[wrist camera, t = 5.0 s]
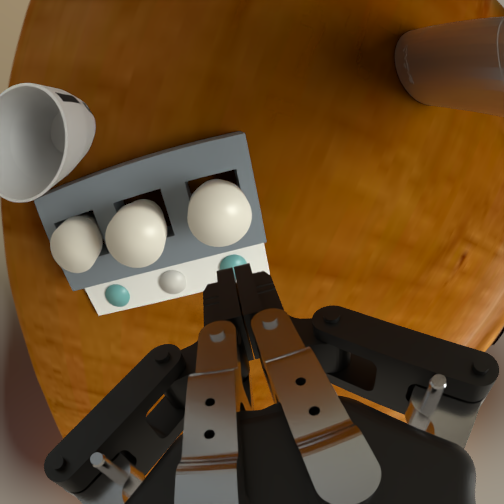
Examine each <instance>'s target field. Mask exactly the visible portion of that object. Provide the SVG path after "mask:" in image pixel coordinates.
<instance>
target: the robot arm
mask: <svg viewBox="0 0 504 504" xmlns="http://www.w3.org/2000/svg"><path fill="white" fill-rule="evenodd" d="M395 66H396V70H397V74H398V76H399V79H400V81H401V83H402V85H403V86H404V88H405V89H406V91H407V92H408V93H409V94H410V95H411V96H412V97H413V98H414V99H415V100H417V101H418V102H420V103H422V104H425V105H430V106H439V107H447V108H454V109H461V110H468V111H474V112H480V113H485V114H491V115H496V116H501V117H504V17H495V18H484V19H474V20H466V21H459V22H453V23H446V24H441V25H435V26H429V27H424V28H419V29H415V30H411V31H408V32H406V33H405V34H403V35H402V36H401V37H400V39H399V41H398V42H397V45H396V49H395ZM234 271H235V275H234ZM234 271H233V268H232V267H231V268H227V269H222V270H218V271H217V282H215V283H211V284H207V286H206V288H205V290H204V291H203V300H204V301H203V306H204V327H203V329H202V330H201V331H200V333H199V337H198V341H197V342H196V343H194V344H193V345H191V346H189V347H187V348H184V349H182V350H180V349H179V348H178V347H177V346H175V345H172V344H164V345H160V346H158V347H156V348H154V349H153V350H151V351H150V352H149V353H148V354H147V355H146V356H145V357H144V358H143V359H142V360H141V361H140V362H139V363H138V364H137V365H136V366H135V367H134V368H133V369H132V370H131V371H130V372H129V373H128V374H127V375H126V376H125V377H124V378H123V379H122V380H121V381H120V382H119V383H118V384H117V385H116V386H115V387H114V388H113V389H112V390H111V391H110V392H109V393H108V394H107V395H106V396H105V397H104V398H103V399H102V400H101V401H100V402H99V403H98V404H97V405H96V406H95V407H94V409H93V410H92V411H91V412H90V413H89V414H88V415H87V416H86V417H85V418H84V419H83V420H82V421H81V422H80V423H79V424H78V425H77V426H76V427H75V428H74V429H73V430H72V431H71V432H70V433H69V434H68V435H67V436H66V437H65V438H64V439H63V440H62V441H61V442H60V443H59V444H58V445H57V446H56V447H55V448H54V449H53V450H52V451H51V452H50V453H49V454H48V456H47V457H46V460H45V463H44V469H45V473H46V475H47V477H48V478H49V479H50V480H52V481H53V482H55V483H56V484H58V485H59V486H61V487H63V488H64V490H66V491H67V492H68V493H70V494H72V495H73V496H75V497H77V498H78V499H79V500H80V501H81V503H82V504H476V503H475V483H476V472H475V467H474V464H473V461H472V459H471V457H470V456H469V454H468V453H467V452H466V451H465V450H464V448H465V445H466V443H467V440H468V438H469V435H470V433H471V430H472V427H473V424H474V422H475V419H476V416H477V413H478V410H479V408H480V406H481V404H482V403H483V401H484V400H485V398H486V396H487V395H488V393H489V391H490V389H491V388H492V386H493V384H494V382H495V380H496V378H497V377H498V374H499V366H498V363H497V361H496V360H495V359H494V358H493V357H492V356H491V355H489V354H488V353H485V352H482V351H479V350H476V349H472V348H469V347H466V346H462V345H459V344H456V343H453V342H449V341H446V340H443V339H440V338H436V337H433V336H430V335H427V334H424V333H420V332H417V331H414V330H411V329H408V328H405V327H402V326H398V325H395V324H392V323H389V322H386V321H383V320H380V319H377V318H374V317H371V316H368V315H365V314H362V313H359V312H356V311H352V310H349V309H346V308H343V307H340V306H326V307H323V308H321V309H319V310H317V311H316V312H315V313H314V315H313V317H312V318H311V319H299V318H294V317H291V316H289V315H288V314H287V313H286V312H285V311H284V309H283V307H282V304H281V301H280V299H279V296H278V294H277V291H276V289H275V286H274V284H273V281H272V278H271V276H270V275H269V274H267V273H266V272H265V271H261V272H257V273H252V270H251V267H250V263H247V264H243V265H239V266H235V267H234ZM235 277H236V279H235ZM249 338H250V339H249ZM250 342H251V344H250ZM251 345H252V349H253V352H254V356H255V359H258V358H260V361H261V364H262V368H263V372H264V375H265V378H266V381H267V384H268V386H269V389H270V392H271V395H272V398H273V400H274V403H275V404H273V405H271V406H269V407H267V408H265V409H263V410H255V411H254V405H253V394H252V384H251V375H250V367H249V361H250V360H254V358H253V353H252V349H251ZM331 383H332V384H334V385H336V386H338V387H341V388H343V389H345V390H347V391H350V392H352V393H354V394H356V395H359V396H361V397H363V398H366V399H368V400H370V401H373V402H375V403H377V404H380V405H382V406H385V407H387V408H390V409H392V410H394V411H397V412H399V413H402V414H405V418H406V421H407V423H408V424H407V423H405V422H402V421H400V420H398V419H396V418H393V417H391V416H389V415H387V414H385V413H382V412H380V411H378V410H376V409H374V408H372V407H369V406H367V405H365V404H363V403H361V402H359V401H357V400H354V399H351V398H348V397H343V396H337V394H336V392H335V390H334V388H333V386H332V385H331ZM163 394H164V395H165V397H164V398H163V399H162V400H161V401H160V402H159V403H158V404H157V406H156V407H155V408H154V409H153V410H152V411H151V412H150V413H149V415H148V416H147V417H146V414H147V412H148V411H149V409H150V408H151V407H152V406H153V405H154V404H155V403H156V402H157V401H158V399H159V398H160V397H161V396H162V395H163ZM182 431H183V434H182V435H180V433H181V432H182ZM179 435H180V436H179ZM178 436H179V437H178ZM177 437H178V438H177ZM176 438H177V439H176ZM171 444H172V445H171ZM168 448H169V449H168ZM167 449H168V450H167ZM166 450H167V451H166ZM164 453H165V454H164ZM163 454H164V455H163ZM162 455H163V456H162ZM161 456H162V458H161ZM160 458H161V459H160ZM159 459H160V460H159ZM158 460H159V461H158ZM157 461H158V463H157V464H156V465H155V463H156V462H157ZM154 465H155V466H154ZM153 466H154V468H153V469H152V470H151V472H150V473H149V474H148V475H147V477H146V478H145V475H146V474H147V473H148V472H149V470H150V469H151V468H152V467H153Z"/></svg>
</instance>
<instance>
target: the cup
mask: <svg viewBox="0 0 504 504" xmlns="http://www.w3.org/2000/svg"><path fill="white" fill-rule="evenodd" d="M95 129H96V125H95V119H94V116H93V114H92V113H91V111H90V109H89V108H88V106H87V105H86V104H85V103H84V102H83V101H82V100H80V99H79V98H77V97H75V96H73V95H71V94H70V93H68V92H66V91H64V90H61V89H57V88H53V87H48V86H43V85H39V84H33V83H21V84H17V85H14V86H12V87H10V88H8V89H6V90H5V91H3V92H2V93H1V94H0V196H1V197H3V198H4V199H7V200H9V201H12V202H29V201H32V200H34V199H37V198H39V197H40V196H42V195H43V194H44V193H46V192H47V191H48V190H49V189H50V188H52V187H53V186H54V185H55V184H57V183H58V182H59V181H60V180H62V179H63V178H64V177H66V176H67V175H68V174H69V173H70V172H71V171H72V170H73V169H74V168H75V167H76V165H77V164H78V163H79V162H80V161H81V160H82V158H83V157H84V156H85V155H86V154H87V152H88V150H89V149H90V147H91V144H92V141H93V138H94V135H95Z"/></svg>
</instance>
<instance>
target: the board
mask: <svg viewBox="0 0 504 504" xmlns="http://www.w3.org/2000/svg"><path fill="white" fill-rule="evenodd" d="M230 170H234V172H235V177H236V181H237V186H238V187H239V188H240V189H241V190H242V191H243V193H244V195H245V197H246V198H247V200H248V202H249V204H250V207H251V211H252V220H251V224H250V227H249V229H248V231H247V233H246V234H245V235H244V236H243V237H242V238H241V239H240V240H239V241H237V242H236V243H234V244H231V245H228V246H224V247H213V246H209V245H206V244H204V243H202V242H200V241H199V240H198V239H197V238H196V237H195V236H194V235H193V234H192V232H191V230H190V228H189V225H188V219H187V216H188V205H189V201H190V198H191V196H192V195H191V192H190V188H189V184H188V181H190V180H194V179H198V178H201V177H205V176H209V175H213V174H217V173H222V172H226V171H230ZM157 189H161V192H162V196H163V199H164V202H165V206H166V209H167V212H168V215H169V219H170V222H171V225H170V226H167V237H166V241H165V246H164V250H163V252H162V254H161V256H160V257H159V258H158V260H157V261H155V262H154V263H153V264H151V265H149V266H146V267H142V268H132V267H128V266H125V265H123V264H121V263H119V262H118V261H117V260H116V259H115V258H113V256H112V255H111V254H110V252H109V250H108V248H107V245H106V241H105V233H106V229H107V226H108V224H109V223H110V221H111V220H112V218H113V217H114V216H115V214H116V213H117V212H118V210H119V209H120V208H122V207H123V206H125V204H124V201H123V200H124V199H127V198H131V197H134V196H137V195H140V194H144V193H147V192H150V191H154V190H157ZM34 202H35V205H36V208H37V211H38V213H39V216H40V219H41V221H42V224H43V226H44V229H45V231H46V234H47V236H48V238H49V241H50V240H51V237H52V234H53V232H54V231H55V230H56V229H57V228H58V227H59V226H60V225H61V224H62V223H63V222H64V221H65V220H66V219H68V218H70V217H73V216H76V215H79V214H82V213H85V212H88V211H91V210H93V212H94V215H95V218H96V220H97V223H98V226H99V228H100V231H101V234H102V236H103V239H104V241H105V244H103V245H102V250H101V252H100V254H99V256H98V257H97V259H96V261H95V263H94V264H93V266H92V267H91V268H90V269H89V270H87V271H85V272H82V273H72V272H69V271H67V270H65V269H63V268H62V267H61V268H62V270H63V272H64V274H65V276H66V278H67V280H68V282H69V284H70V286H71V288H72V290H73V291H76V290H80V289H84V288H87V287H91V286H95V285H99V284H103V283H107V282H111V281H115V280H118V279H122V278H126V277H130V276H134V275H138V274H142V273H146V272H150V271H154V270H158V269H161V268H165V267H169V266H173V265H177V264H181V263H185V262H189V261H193V260H197V259H201V258H205V257H209V256H213V255H217V254H221V253H225V252H229V251H233V250H237V249H241V248H245V247H249V246H253V245H257V244H261V243H265V242H267V241H266V236H265V231H264V226H263V221H262V216H261V210H260V205H259V200H258V195H257V190H256V185H255V180H254V175H253V170H252V165H251V160H250V155H249V151H248V146H247V141H246V136H245V133H243V132H241V131H238V132H233V133H229V134H224V135H220V136H216V137H212V138H207V139H203V140H199V141H195V142H191V143H188V144H184V145H180V146H177V147H173V148H169V149H166V150H162V151H159V152H156V153H152V154H149V155H146V156H142V157H139V158H136V159H133V160H130V161H127V162H124V163H121V164H118V165H115V166H112V167H109V168H106V169H103V170H100V171H98V172H95V173H92V174H90V175H87V176H84V177H82V178H79V179H76V180H74V181H71V182H69V183H66V184H64V185H61V186H59V187H56V188H54V189H52V190H49V191H47V192H46V193H44V194H43V195H42V196H40V197H39V198H37V199H35V200H34Z"/></svg>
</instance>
